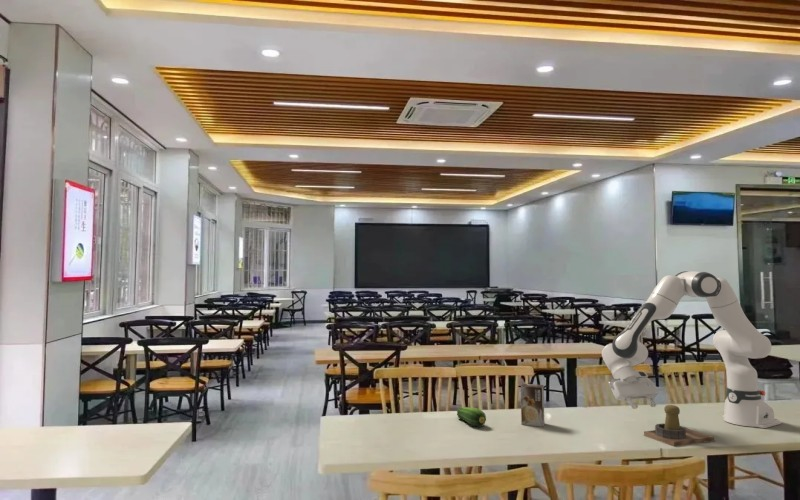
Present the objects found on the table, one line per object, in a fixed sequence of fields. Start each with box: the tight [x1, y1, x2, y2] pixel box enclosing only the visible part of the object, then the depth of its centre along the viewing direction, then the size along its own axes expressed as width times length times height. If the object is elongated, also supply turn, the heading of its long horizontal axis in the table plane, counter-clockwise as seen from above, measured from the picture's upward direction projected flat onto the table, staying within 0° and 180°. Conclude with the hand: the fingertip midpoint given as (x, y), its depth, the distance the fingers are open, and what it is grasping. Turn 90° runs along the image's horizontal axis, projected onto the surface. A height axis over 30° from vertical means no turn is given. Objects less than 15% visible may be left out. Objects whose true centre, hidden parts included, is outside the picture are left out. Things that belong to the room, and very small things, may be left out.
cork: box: [664, 404, 681, 430], centre depth 199 cm, size 6×6×11 cm
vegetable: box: [456, 406, 487, 428], centre depth 221 cm, size 7×7×20 cm
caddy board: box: [643, 423, 715, 447], centre depth 200 cm, size 20×14×4 cm
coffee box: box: [520, 383, 545, 427], centre depth 220 cm, size 9×6×16 cm
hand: (645, 407), depth 211 cm, fingers open, 8 cm apart
